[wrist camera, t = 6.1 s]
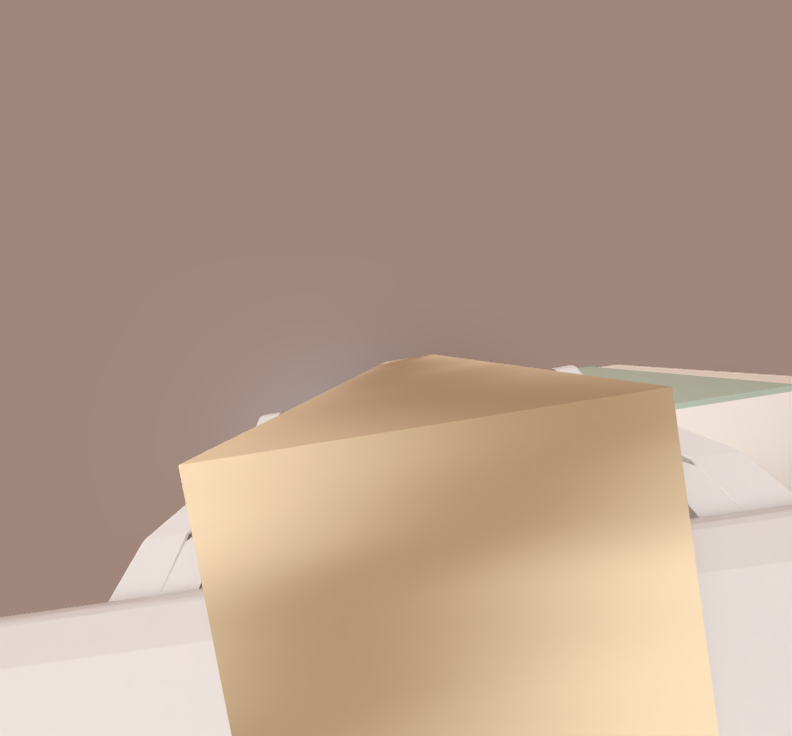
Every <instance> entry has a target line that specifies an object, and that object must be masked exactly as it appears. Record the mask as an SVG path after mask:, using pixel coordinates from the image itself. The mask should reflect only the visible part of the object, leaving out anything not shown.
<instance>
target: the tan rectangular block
mask: <svg viewBox="0 0 792 736" xmlns="http://www.w3.org/2000/svg"><path fill="white" fill-rule="evenodd" d="M178 466H179V470H180V475H181V481H182V485H183V491H184V496H185V501H186V506H187V512H188V517H189V522H190V527H191V532H192V537H193V542H194V547H195V552H196V557H197V562H198V567H199V573H200V578H201V583H202V588H203V593H204V598H205V603H206V608H207V613H208V618H209V623H210V629H211V634H212V639H213V644H214V649H215V654H216V659H217V664H218V669H219V674H220V679H221V684H222V690H223V695H224V700H225V705H226V710H227V715H228V720H229V725H230V730H231V735H232V736H719V730H718V723H717V716H716V708H715V701H714V693H713V686H712V678H711V671H710V664H709V656H708V649H707V641H706V634H705V626H704V619H703V612H702V604H701V597H700V589H699V582H698V574H697V567H696V560H695V552H694V545H693V537H692V530H691V523H690V515H689V508H688V500H687V493H686V485H685V478H684V471H683V463H682V456H681V448H680V441H679V433H678V426H677V419H676V411H675V404H674V396H673V389H672V387H670V386H663V385H655V384H648V383H641V382H633V381H626V380H618V379H611V378H604V377H596V376H589V375H581V374H574V373H567V372H559V371H552V370H544V369H537V368H530V367H522V366H515V365H507V364H500V363H493V362H485V361H478V360H470V359H463V358H455V357H448V356H441V355H433V354H431V355H424V356H418V357H413V358H406V359H400V360H394V361H388V362H384V363H383V364H381V365H378V366H377V367H374V368H372V369H370V370H368V371H366V372H364V373H362V374H360V375H358V376H356V377H354V378H352V379H350V380H348V381H346V382H344V383H342V384H340V385H338V386H337V387H334V388H332V389H330V390H328V391H326V392H324V393H322V394H320V395H318V396H316V397H314V398H312V399H310V400H308V401H306V402H304V403H302V404H300V405H298V406H296V407H294V408H292V409H290V410H288V411H286V412H284V413H282V414H280V415H278V416H276V417H274V418H272V419H270V420H268V421H266V422H264V423H262V424H260V425H258V426H256V427H254V428H252V429H250V430H248V431H246V432H244V433H242V434H240V435H238V436H236V437H234V438H232V439H230V440H228V441H226V442H224V443H222V444H220V445H218V446H216V447H214V448H212V449H210V450H208V451H206V452H204V453H202V454H200V455H198V456H196V457H194V458H192V459H190V460H188V461H186V462H184V463H182V464H180V465H178Z"/></svg>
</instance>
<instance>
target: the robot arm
mask: <svg viewBox="0 0 792 736" xmlns="http://www.w3.org/2000/svg"><path fill="white" fill-rule="evenodd" d="M551 370H552V371H559V372H567V373H574V374H581V375H583V374H582V373H581V372H580V371H579V370H578V369H577V368H576V367H575V366H572V365H569V366H564V367H558V368H553V369H551ZM282 413H284V412H282ZM282 413H274V414H268V415H263V416H262V417H260V419H259V421H258V423H257V426H258V425H260V424H262V423H264V422H266V421H268V420H270V419H272V418H274V417H276V416H278V415H280V414H282ZM678 433H679V441H680V448H681V456H682V463H683V471H684V478H685V485H686V493H687V500H688V508H689V515H690V523H691V530H692V537H693V545H694V552H695V560H696V567H697V574H698V582H699V589H700V597H701V604H702V612H703V619H704V626H705V634H706V641H707V649H708V656H709V664H710V671H711V678H712V686H713V693H714V701H715V708H716V716H717V723H718V730H719V736H792V493H791V492H790V491H789V490H787V489H786V488H785V487H784V486H783V485H781V484H780V483H779V482H778V481H777V480H775V479H774V478H773V477H772V476H771V475H769V474H768V473H767V472H766V471H765V470H763V469H762V468H761V467H760V466H759V465H757V464H756V463H755V462H754V461H753V460H751V459H750V458H749V457H748V456H747V455H745V454H744V453H743V452H742V451H739V450H736V449H734V448H731V447H729V446H726V445H724V444H721V443H718V442H716V441H713V440H711V439H708V438H706V437H703V436H700V435H698V434H695V433H693V432H690V431H688V430H685V429H682V428H680V427H678ZM0 736H232V735H231V730H230V725H229V720H228V715H227V710H226V705H225V700H224V695H223V690H222V684H221V679H220V674H219V669H218V664H217V659H216V654H215V649H214V644H213V639H212V634H211V629H210V623H209V618H208V613H207V608H206V603H205V598H204V593H203V588H202V583H201V578H200V573H199V567H198V562H197V557H196V552H195V547H194V542H193V537H192V532H191V527H190V522H189V517H188V512H187V506H186V505H185V506H184V507H183V508H181V509H180V510H179V511H178V512H177V513H176V514H175V515H173V516H172V517H171V518H170V519H169V520H168V521H166V522H165V523H164V524H163V525H162V526H160V527H159V528H158V529H157V530H156V531H155V532H153V533H152V534H151V535H150V536H149V537H147V538H146V539H145V540H144V542H143V543H142V545H141V547H140V548H139V550H138V552H137V554H136V555H135V557H134V559H133V560H132V562H131V564H130V565H129V567H128V569H127V571H126V572H125V574H124V576H123V577H122V579H121V581H120V583H119V584H118V586H117V588H116V589H115V591H114V593H113V595H112V596H111V598H110V600H109V602H104V603H97V604H91V605H83V606H76V607H69V608H62V609H55V610H49V611H41V612H34V613H27V614H20V615H13V616H6V617H0Z"/></svg>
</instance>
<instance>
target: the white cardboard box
mask: <svg viewBox="0 0 792 736" xmlns="http://www.w3.org/2000/svg"><path fill="white" fill-rule="evenodd" d="M577 369H578V370H579V371H580V372H581V373H582V374H583V375H589V376H596V377H604V378H611V379H618V380H626V381H633V382H641V383H648V384H655V385H663V386H670V387H672V389H673V396H674V404H675V411H676V419H677V426H678V427H680V428H682V429H685V430H688V431H690V432H693V433H695V434H698V435H700V436H703V437H706V438H708V439H711V440H713V441H716V442H718V443H721V444H724V445H726V446H729V447H731V448H734V449H736V450H739V451H742V452H743V453H744V454H745V455H747V456H748V457H749V458H750V459H751V460H753V461H754V462H755V463H756V464H757V465H759V466H760V467H761V468H762V469H763V470H765V471H766V472H767V473H768V474H769V475H771V476H772V477H773V478H774V479H775V480H777V481H778V482H779V483H780V484H781V485H783V486H784V487H785V488H786V489H787V490H789V491H790V492H791V493H792V376H780V375H764V374H749V373H735V372H734V373H733V372H719V371H704V370H689V369H674V368H657V367H642V366H628V365H611V366H605V367H600V368H599V367H582V368H577Z"/></svg>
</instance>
